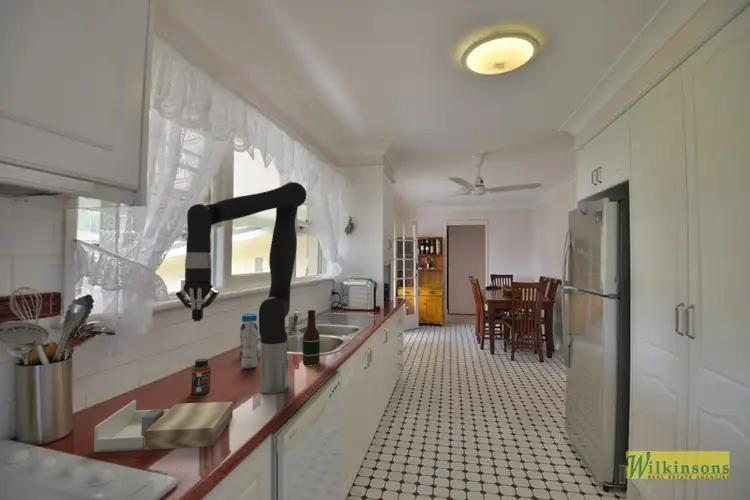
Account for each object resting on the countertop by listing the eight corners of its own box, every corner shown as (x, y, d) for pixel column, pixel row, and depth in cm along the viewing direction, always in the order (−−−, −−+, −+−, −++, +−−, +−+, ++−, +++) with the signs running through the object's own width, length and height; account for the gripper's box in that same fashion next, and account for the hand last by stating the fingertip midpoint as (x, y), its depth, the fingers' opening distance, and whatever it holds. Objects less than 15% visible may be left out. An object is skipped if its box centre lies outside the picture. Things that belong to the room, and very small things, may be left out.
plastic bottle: (260, 367, 148) (261, 321, 149) (247, 371, 143) (248, 323, 143) (250, 364, 152) (251, 319, 152) (237, 368, 146) (238, 321, 147)
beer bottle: (305, 360, 158) (306, 308, 159) (321, 361, 157) (322, 309, 158) (299, 365, 151) (300, 311, 151) (316, 366, 150) (317, 311, 150)
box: (173, 419, 99) (174, 398, 100) (142, 449, 84) (143, 424, 84) (133, 421, 98) (133, 400, 98) (93, 452, 82) (94, 426, 83)
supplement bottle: (202, 396, 117) (202, 362, 117) (187, 394, 118) (187, 361, 118) (213, 389, 123) (214, 357, 123) (199, 388, 124) (199, 356, 124)
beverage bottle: (259, 356, 164) (260, 315, 165) (241, 359, 160) (242, 316, 160) (255, 352, 171) (256, 312, 172) (237, 355, 167) (238, 314, 167)
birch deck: (232, 416, 101) (232, 401, 101) (212, 446, 85) (213, 427, 85) (175, 419, 100) (175, 403, 100) (144, 449, 84) (145, 430, 84)
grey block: (163, 408, 94) (152, 409, 94) (153, 417, 89) (141, 417, 89) (163, 427, 94) (151, 427, 93) (153, 436, 89) (141, 437, 88)
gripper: (223, 266, 115) (222, 318, 114) (182, 266, 113) (181, 319, 113) (215, 267, 107) (214, 322, 107) (171, 267, 106) (169, 323, 105)
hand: (197, 320), depth 110 cm, fingers closed
